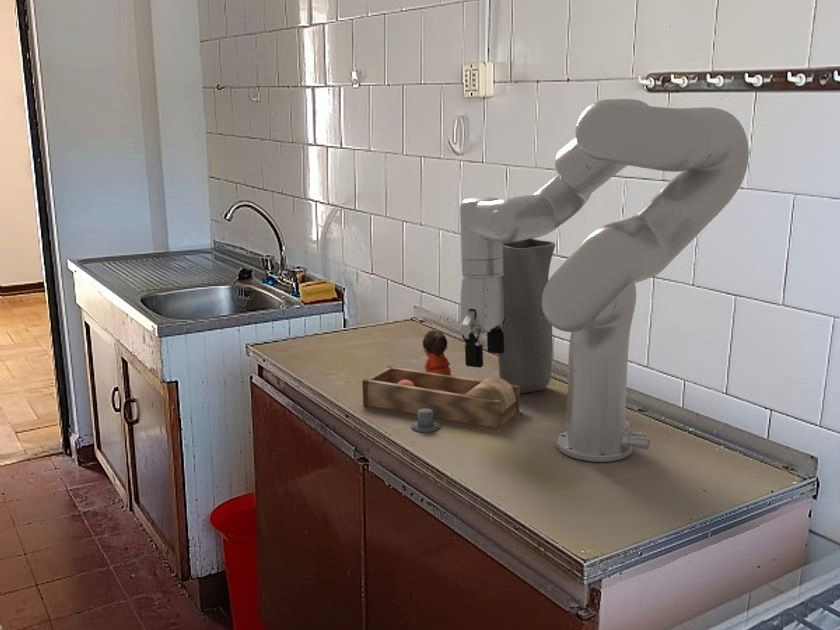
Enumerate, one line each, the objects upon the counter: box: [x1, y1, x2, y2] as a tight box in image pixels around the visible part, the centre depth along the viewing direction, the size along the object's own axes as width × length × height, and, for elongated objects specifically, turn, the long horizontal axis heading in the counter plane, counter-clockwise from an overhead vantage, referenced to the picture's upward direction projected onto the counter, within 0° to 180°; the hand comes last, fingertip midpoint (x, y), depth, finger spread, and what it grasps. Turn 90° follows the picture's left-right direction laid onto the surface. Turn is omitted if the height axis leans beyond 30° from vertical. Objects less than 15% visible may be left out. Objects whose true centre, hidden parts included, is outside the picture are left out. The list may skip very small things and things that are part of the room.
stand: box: [410, 409, 441, 433], centre depth 155 cm, size 5×5×3 cm
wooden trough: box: [362, 365, 521, 429], centre depth 164 cm, size 28×10×8 cm, turn 62°
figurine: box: [422, 329, 452, 376], centre depth 176 cm, size 6×6×12 cm
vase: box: [497, 238, 556, 395], centre depth 171 cm, size 12×12×30 cm
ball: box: [397, 380, 415, 387], centre depth 168 cm, size 4×4×4 cm
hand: (485, 359), depth 158 cm, fingers open, 9 cm apart
